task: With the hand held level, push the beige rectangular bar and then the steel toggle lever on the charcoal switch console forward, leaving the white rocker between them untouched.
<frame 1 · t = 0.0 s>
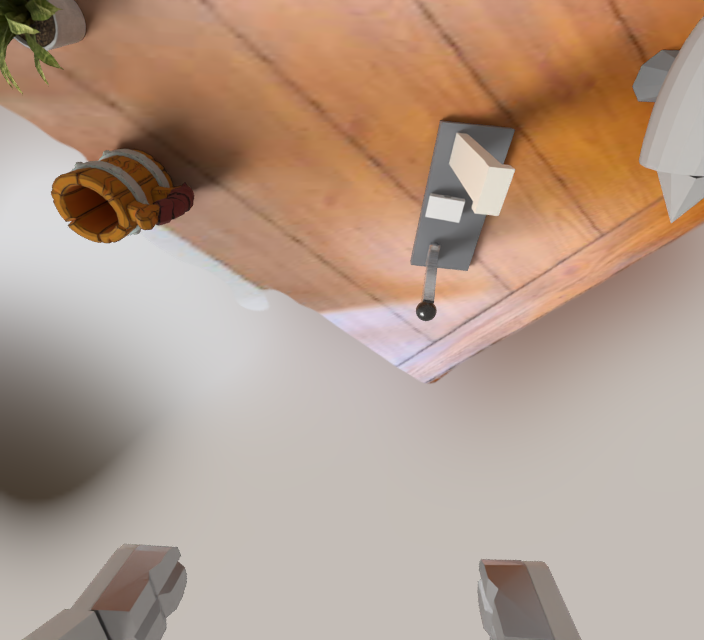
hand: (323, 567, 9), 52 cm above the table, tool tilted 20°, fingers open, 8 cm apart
beige rectangular bar: (472, 166, 40), point 11 cm above the table, slide at 0.0 cm
white rocker: (444, 208, 52), point 3 cm above the table, hinge at -12.0°
house plant: (69, 30, 44), on the table
mug: (158, 184, 56), on the table
console: (442, 201, 54), on the table
jet engine: (644, 100, 44), on the table
steel toggle lever: (429, 279, 50), point 11 cm above the table, hinge at -10.0°
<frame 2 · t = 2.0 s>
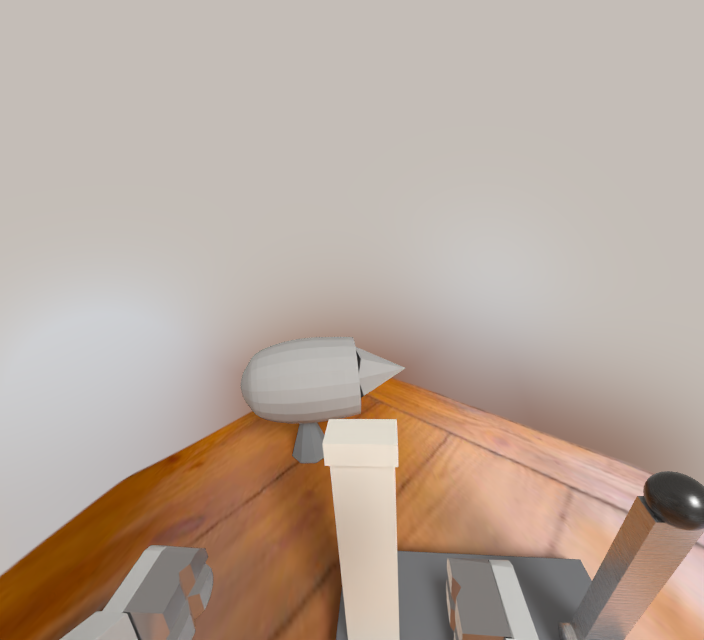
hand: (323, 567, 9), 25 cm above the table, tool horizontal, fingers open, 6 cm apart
beige rectangular bar: (368, 544, 24), point 11 cm above the table, slide at 0.0 cm
jet engine: (327, 451, 50), on the table
steel toggle lever: (626, 581, 21), point 11 cm above the table, hinge at -10.0°
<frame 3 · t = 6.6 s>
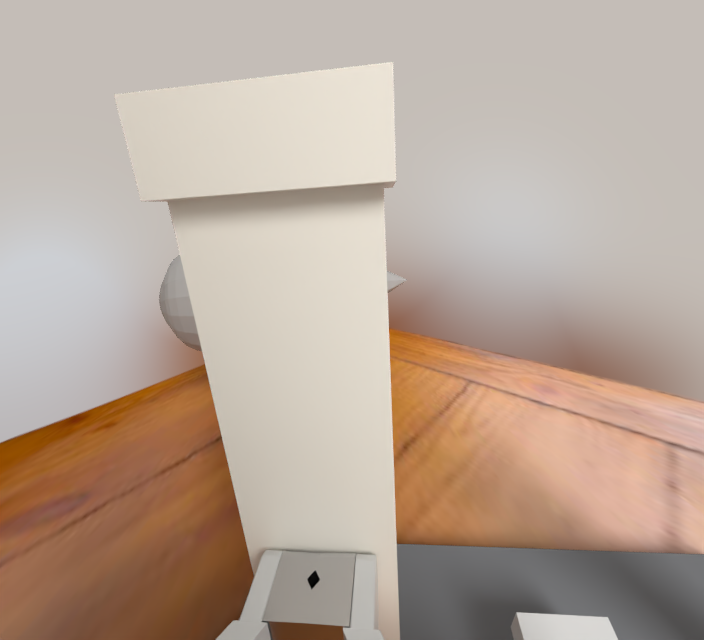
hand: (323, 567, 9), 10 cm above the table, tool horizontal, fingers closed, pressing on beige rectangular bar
beige rectangular bar: (322, 501, 9), point 11 cm above the table, slide at 0.5 cm, touching gripper
jet engine: (297, 406, 35), on the table
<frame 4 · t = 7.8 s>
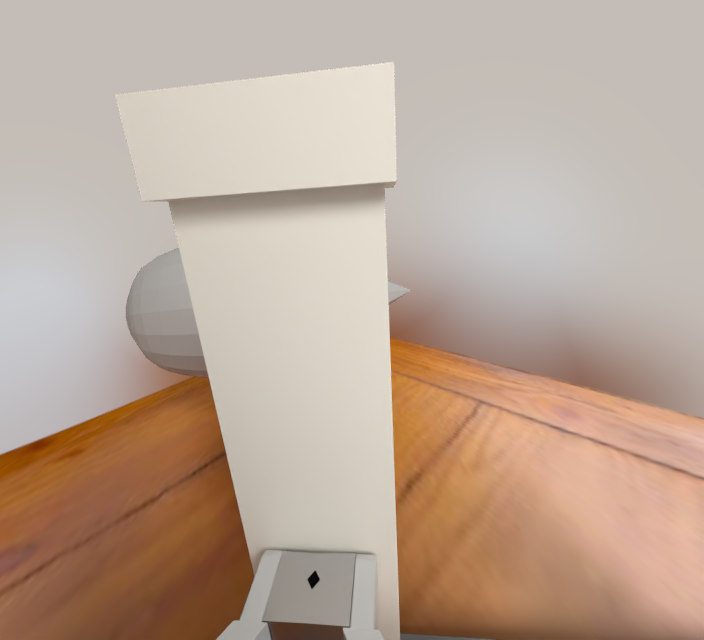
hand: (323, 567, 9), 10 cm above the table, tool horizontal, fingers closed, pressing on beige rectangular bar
beige rectangular bar: (322, 501, 9), point 11 cm above the table, slide at 4.6 cm, touching gripper
jet engine: (287, 431, 31), on the table
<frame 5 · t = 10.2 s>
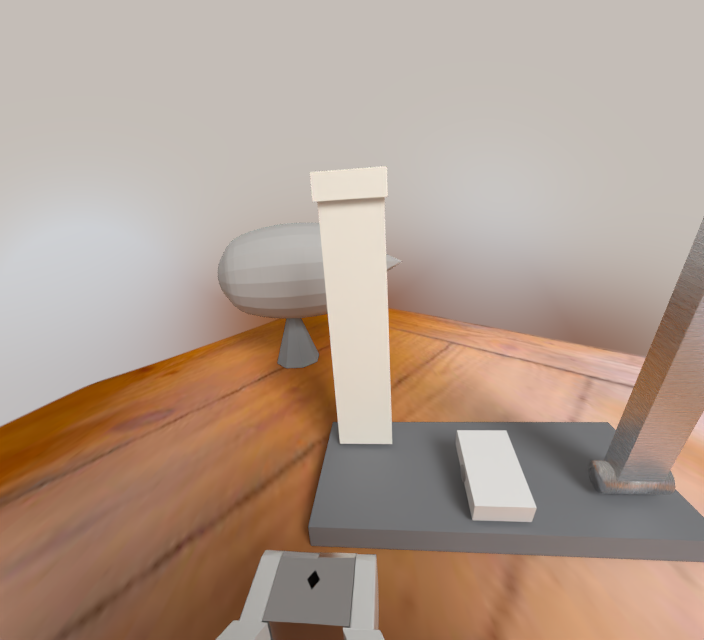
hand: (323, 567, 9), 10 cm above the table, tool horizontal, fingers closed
beige rectangular bar: (359, 321, 23), point 11 cm above the table, slide at 4.6 cm
white rocker: (490, 471, 21), point 3 cm above the table, hinge at -12.0°
console: (487, 508, 22), on the table
jet engine: (316, 360, 45), on the table
steel toggle lever: (686, 359, 16), point 11 cm above the table, hinge at -10.0°
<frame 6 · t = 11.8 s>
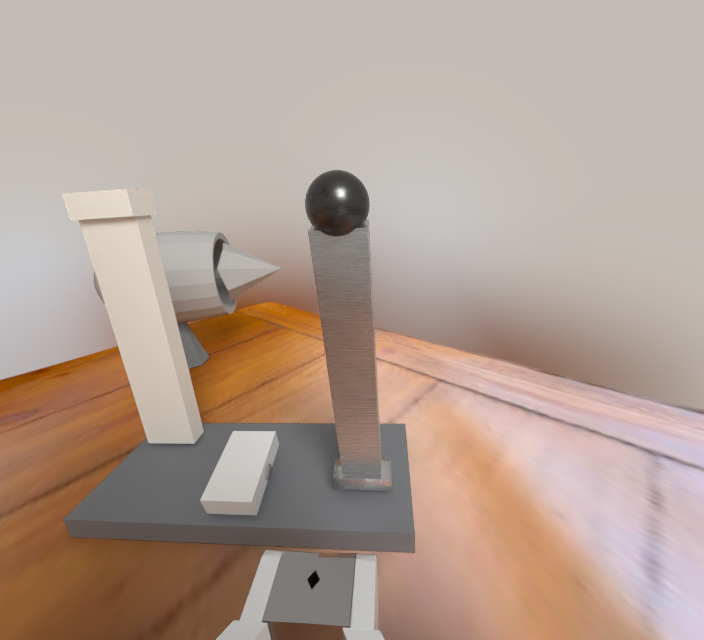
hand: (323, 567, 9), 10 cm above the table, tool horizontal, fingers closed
beige rectangular bar: (146, 329, 25), point 11 cm above the table, slide at 4.6 cm
white rocker: (243, 469, 23), point 3 cm above the table, hinge at -12.0°
console: (251, 503, 24), on the table
jet engine: (204, 362, 47), on the table
steel toggle lever: (353, 367, 18), point 11 cm above the table, hinge at -10.0°
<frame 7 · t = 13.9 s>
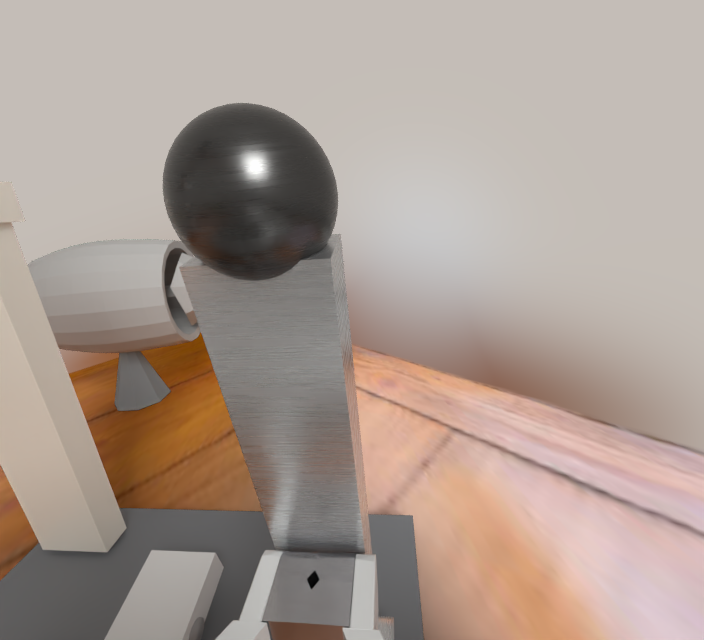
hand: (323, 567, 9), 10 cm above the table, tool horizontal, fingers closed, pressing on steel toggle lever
beige rectangular bar: (22, 394, 17), point 11 cm above the table, slide at 4.6 cm
white rocker: (157, 628, 14), point 3 cm above the table, hinge at -12.0°
jet engine: (163, 398, 38), on the table
steel toggle lever: (321, 512, 9), point 11 cm above the table, hinge at -9.7°, touching gripper
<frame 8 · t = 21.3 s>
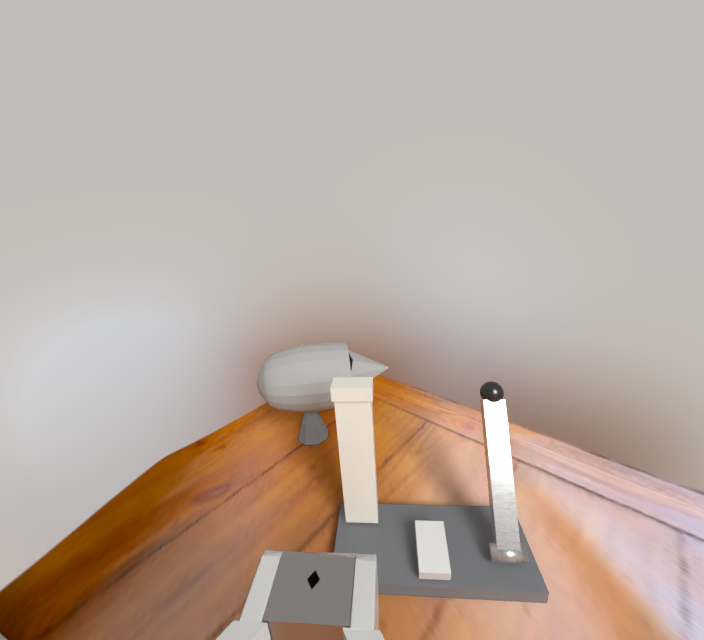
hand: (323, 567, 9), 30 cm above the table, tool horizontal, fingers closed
beige rectangular bar: (357, 455, 40), point 11 cm above the table, slide at 4.6 cm
white rocker: (431, 548, 37), point 3 cm above the table, hinge at -12.0°
console: (431, 567, 38), on the table
jet engine: (327, 436, 61), on the table
steel toggle lever: (499, 467, 38), point 10 cm above the table, hinge at 31.6°
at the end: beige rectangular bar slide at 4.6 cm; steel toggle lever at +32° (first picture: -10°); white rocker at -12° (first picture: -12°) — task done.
